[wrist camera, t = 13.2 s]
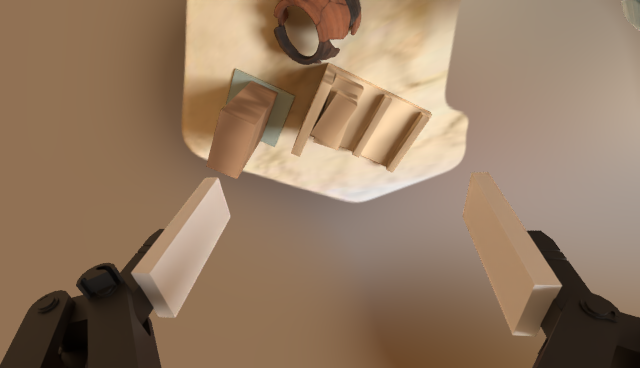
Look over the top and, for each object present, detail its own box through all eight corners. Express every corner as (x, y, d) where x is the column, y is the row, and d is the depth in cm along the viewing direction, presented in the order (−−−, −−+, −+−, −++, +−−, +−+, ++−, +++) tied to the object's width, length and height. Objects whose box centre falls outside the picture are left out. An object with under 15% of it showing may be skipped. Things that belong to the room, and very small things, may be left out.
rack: (430, 112, 44) (445, 139, 36) (393, 166, 49) (399, 200, 42) (328, 62, 42) (322, 81, 34) (301, 125, 47) (290, 152, 39)
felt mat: (295, 95, 45) (294, 96, 44) (275, 145, 50) (274, 147, 49) (236, 68, 43) (235, 69, 43) (221, 122, 48) (220, 123, 48)
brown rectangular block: (278, 92, 44) (255, 125, 34) (261, 138, 49) (236, 178, 39) (251, 80, 44) (220, 110, 34) (237, 127, 48) (206, 166, 38)
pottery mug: (364, 51, 41) (332, 80, 37) (306, 37, 45) (270, 61, 40) (373, -62, 32) (331, -43, 28) (299, -69, 36) (252, -53, 31)
